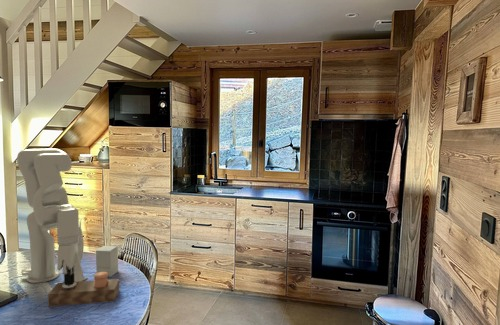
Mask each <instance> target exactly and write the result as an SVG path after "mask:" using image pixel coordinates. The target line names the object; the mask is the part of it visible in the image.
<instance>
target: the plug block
mask: <svg viewBox="0 0 500 325" xmlns="http://www.w3.org/2000/svg"><path fill="white" fill-rule="evenodd" d="M63 283H64V281H62V282H57V284H55V286H53V288H52V289H51V290H50V291H49V292H48V294H47V299H48V300H47V304H48V307H49V308H50V307H59V306H74V305H85V304H86V305H87V304H98V303H100V304H101V303H114V302H115V301H116V298H117V297H118V294H119V292H120V278H111V279H108V285H107V287H101V288H95V279H94V280H84V281H78V282H77V286H76V287H75V289H72V290H62V289H63V288H62V284H63Z"/></svg>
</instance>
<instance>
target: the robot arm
mask: <svg viewBox="0 0 500 325" xmlns="http://www.w3.org/2000/svg"><path fill="white" fill-rule="evenodd" d="M16 162H17V166H18V170H19V171H20V173H21V175H22V177H23V179H24V184H25V191H26V192H25V193H26V197H27V203H28V205H29V207H30V208H31V209H32V210H33V211H32V212H30V213H29V214H28V215H27V217H26V225H27V230H28V234H29V235H28V236H29V251H30V252H29V254H30V256H29V257H30V268H29V269H27V268H25V269H22V270H21V275H22V276H27V278H26V281H27V282H28V283H31V284H39V283H46V282H50V281H52V280H54V279H56V278H58V277H60V276H59V275H60V271H62V275H63V278H64V279H63V282H64V284H65V285H69V284H73V283H74V265H75V264H76V263H77V261H78V245H77V243H78V242H79V225H80V221H79V219H80V218H79V209H78V208H76V207H74V205H72V204H70V203H69V198H68V193H67V191H66V188H64V186H63V184H64V182H63V178H62V175H61V172H68V171H70V170H71V168H72V159H71V157H70V155H69V154H68V153H66V151H63V150H61V149H59V148H28V149H23V150H20V151H19V152H18V153H17V157H16ZM55 229H56V234H57V235H56V236H57V245H58V248H57V262H56V258H55V255H56V252H55V237H54V236H53V235H52V234H51V233H50V232H49V231H51V230H55ZM56 264H57V265H56ZM56 266H57V270H56ZM61 269H62V270H61Z"/></svg>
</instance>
